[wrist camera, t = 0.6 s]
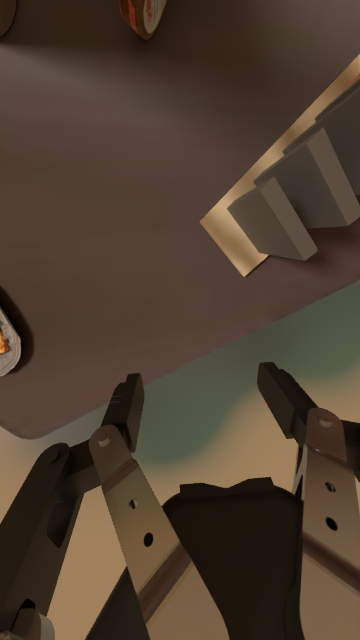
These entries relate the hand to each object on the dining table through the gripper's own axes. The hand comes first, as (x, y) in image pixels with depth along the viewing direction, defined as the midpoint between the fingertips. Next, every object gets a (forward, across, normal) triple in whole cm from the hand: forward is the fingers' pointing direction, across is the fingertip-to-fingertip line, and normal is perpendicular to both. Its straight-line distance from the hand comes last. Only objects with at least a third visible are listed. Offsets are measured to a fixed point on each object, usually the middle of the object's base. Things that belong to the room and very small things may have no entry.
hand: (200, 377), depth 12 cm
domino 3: (+23, +11, +9) cm, 27 cm away
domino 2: (+23, +15, +12) cm, 30 cm away
